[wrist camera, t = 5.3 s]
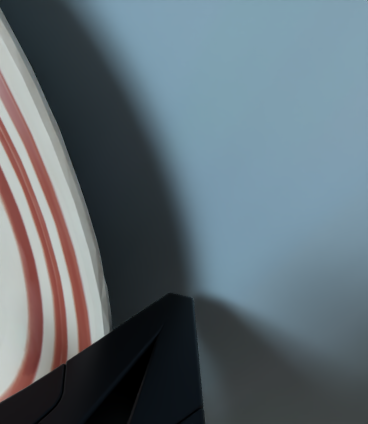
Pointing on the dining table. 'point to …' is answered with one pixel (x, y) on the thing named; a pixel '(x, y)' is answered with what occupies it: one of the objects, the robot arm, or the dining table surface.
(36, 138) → the dinner plate
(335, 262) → the dining table surface
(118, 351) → the robot arm
